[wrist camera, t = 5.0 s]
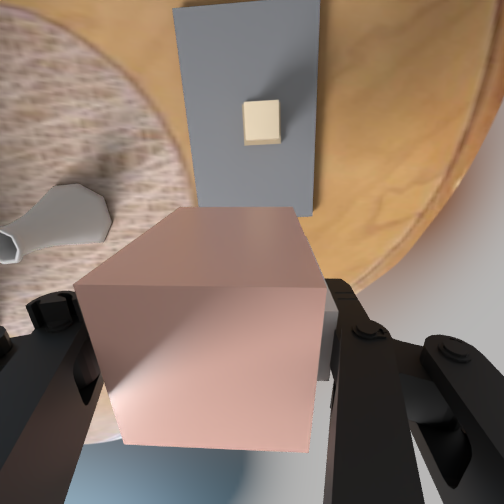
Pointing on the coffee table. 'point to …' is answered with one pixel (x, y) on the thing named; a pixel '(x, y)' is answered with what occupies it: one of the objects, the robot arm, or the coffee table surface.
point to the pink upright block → (210, 330)
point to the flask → (56, 223)
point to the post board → (248, 76)
